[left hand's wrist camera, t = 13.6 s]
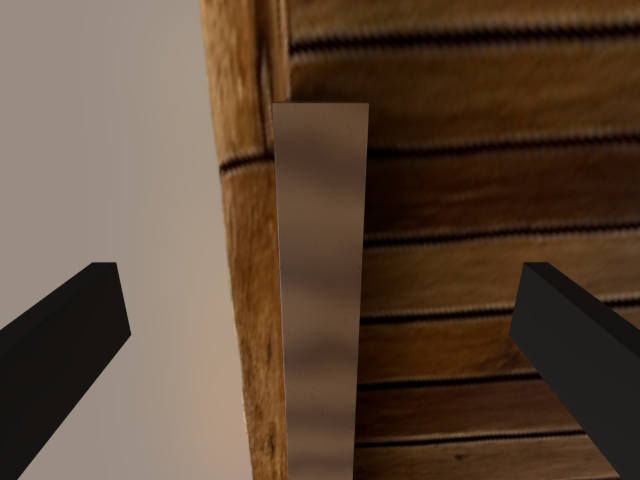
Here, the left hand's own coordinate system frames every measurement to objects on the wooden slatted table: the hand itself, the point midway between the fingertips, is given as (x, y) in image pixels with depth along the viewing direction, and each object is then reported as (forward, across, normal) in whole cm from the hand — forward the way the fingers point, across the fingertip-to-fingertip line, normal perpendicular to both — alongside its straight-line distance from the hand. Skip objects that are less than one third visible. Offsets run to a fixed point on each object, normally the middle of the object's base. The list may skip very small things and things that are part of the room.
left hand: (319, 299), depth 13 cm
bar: (+22, 0, -18) cm, 29 cm away
